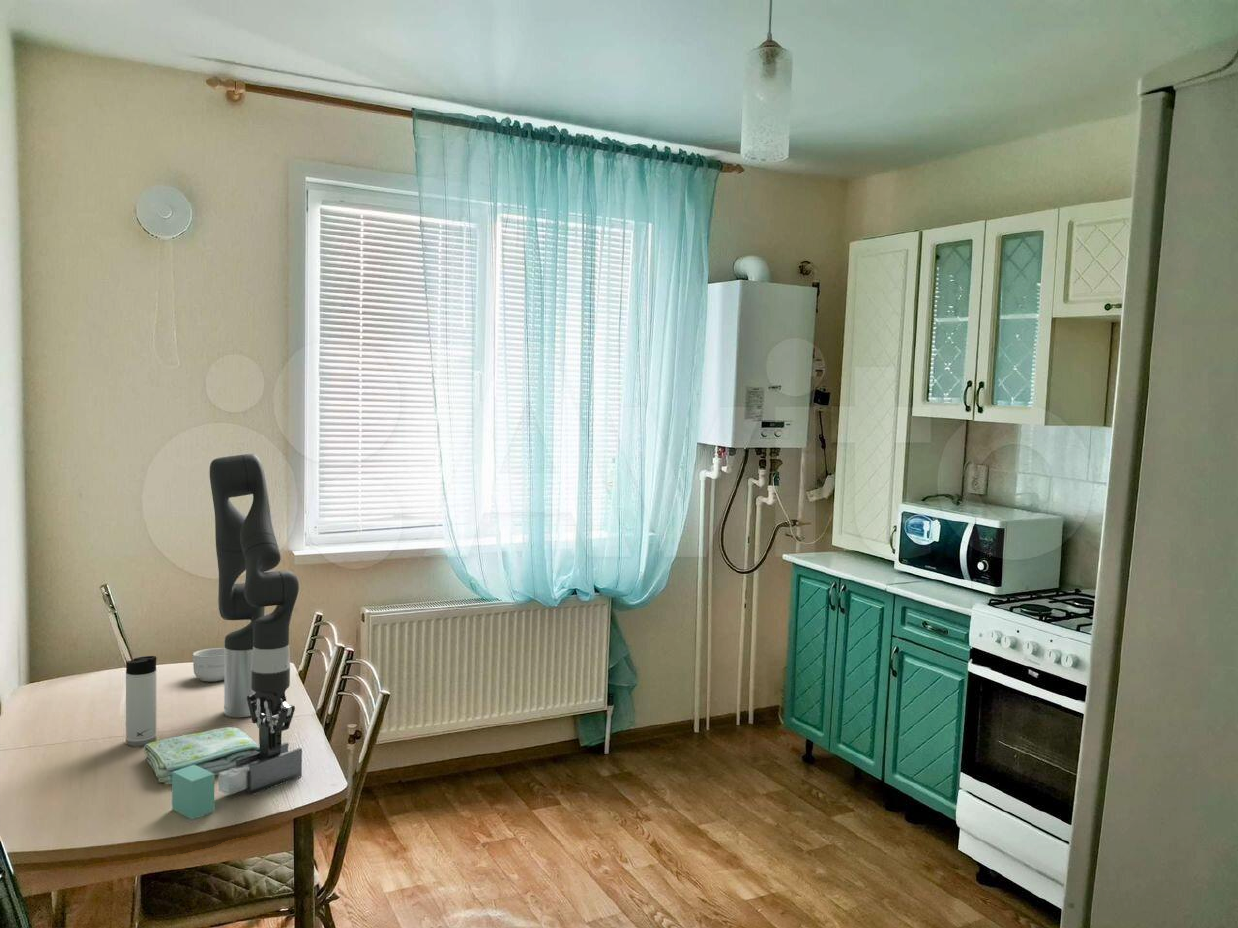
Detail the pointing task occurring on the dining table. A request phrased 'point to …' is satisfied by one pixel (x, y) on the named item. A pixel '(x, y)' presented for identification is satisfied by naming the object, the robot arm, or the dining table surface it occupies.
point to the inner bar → (247, 765)
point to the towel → (199, 752)
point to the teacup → (209, 664)
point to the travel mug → (141, 701)
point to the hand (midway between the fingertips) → (270, 746)
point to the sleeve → (272, 769)
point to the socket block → (193, 791)
